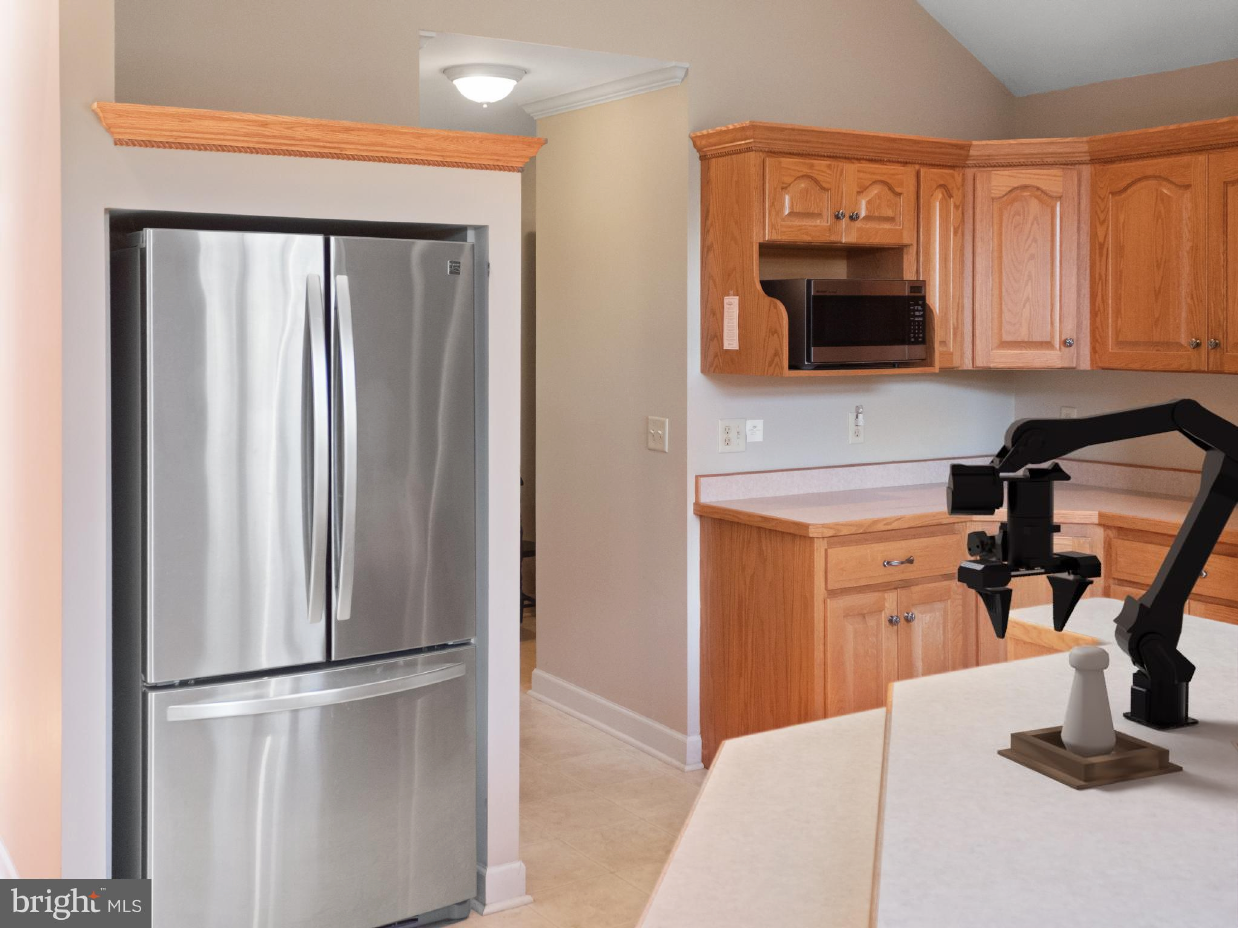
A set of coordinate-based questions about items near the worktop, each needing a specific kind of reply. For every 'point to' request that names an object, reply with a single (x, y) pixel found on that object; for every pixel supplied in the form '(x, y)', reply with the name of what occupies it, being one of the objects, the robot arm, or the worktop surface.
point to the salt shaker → (1088, 705)
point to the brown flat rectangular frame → (1087, 759)
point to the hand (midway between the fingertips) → (1029, 634)
